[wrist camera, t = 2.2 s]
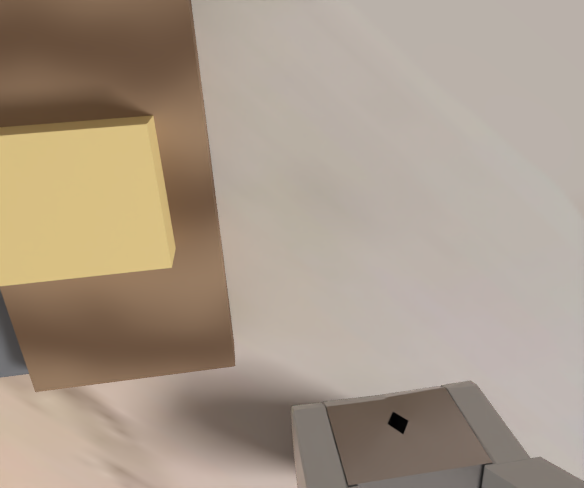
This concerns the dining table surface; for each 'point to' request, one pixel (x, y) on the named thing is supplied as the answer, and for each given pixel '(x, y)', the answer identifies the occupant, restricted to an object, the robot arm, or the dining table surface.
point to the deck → (177, 176)
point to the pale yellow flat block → (82, 200)
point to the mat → (9, 346)
